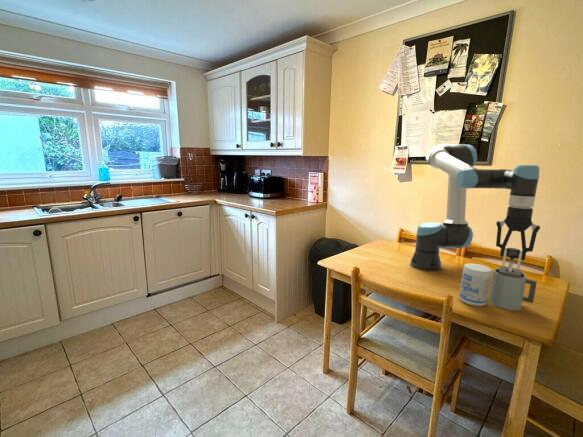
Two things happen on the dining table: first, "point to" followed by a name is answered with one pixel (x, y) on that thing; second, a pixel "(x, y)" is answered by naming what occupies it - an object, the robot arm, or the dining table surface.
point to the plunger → (512, 256)
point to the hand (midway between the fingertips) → (510, 266)
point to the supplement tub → (475, 284)
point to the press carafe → (510, 288)
